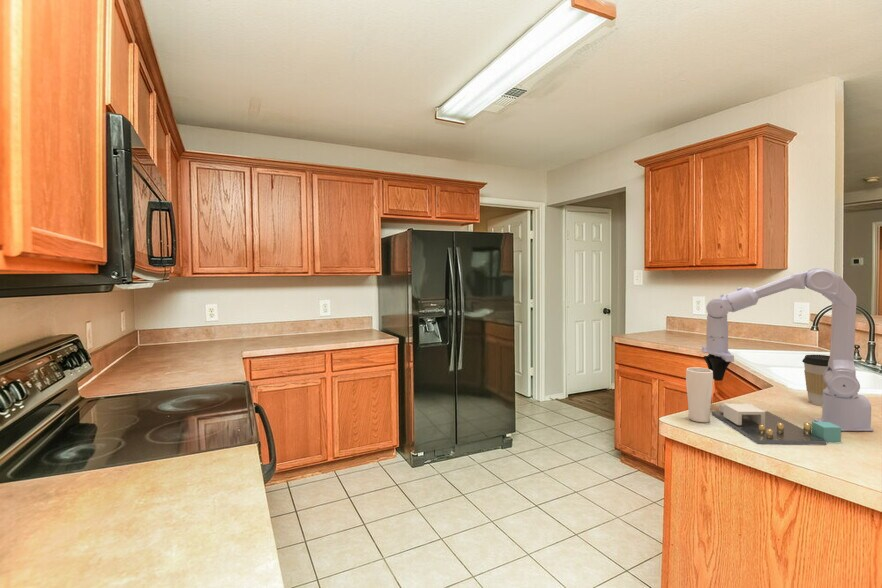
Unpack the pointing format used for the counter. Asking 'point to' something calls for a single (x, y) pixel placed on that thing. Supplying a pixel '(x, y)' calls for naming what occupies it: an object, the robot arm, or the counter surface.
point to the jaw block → (827, 431)
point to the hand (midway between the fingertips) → (716, 379)
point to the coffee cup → (815, 377)
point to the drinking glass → (699, 393)
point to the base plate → (773, 430)
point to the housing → (742, 413)
